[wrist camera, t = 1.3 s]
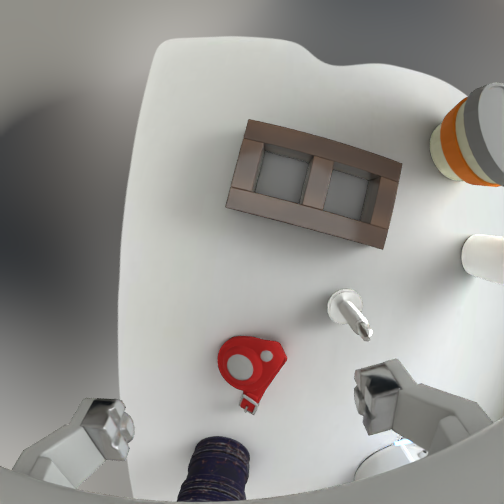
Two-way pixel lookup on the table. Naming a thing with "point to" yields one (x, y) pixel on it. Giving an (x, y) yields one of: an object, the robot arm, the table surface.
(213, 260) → the table surface
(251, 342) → the tracker holder
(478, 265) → the can
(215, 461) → the dark blue cylinder
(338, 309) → the screw
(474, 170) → the reusable coffee cup
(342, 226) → the holder
